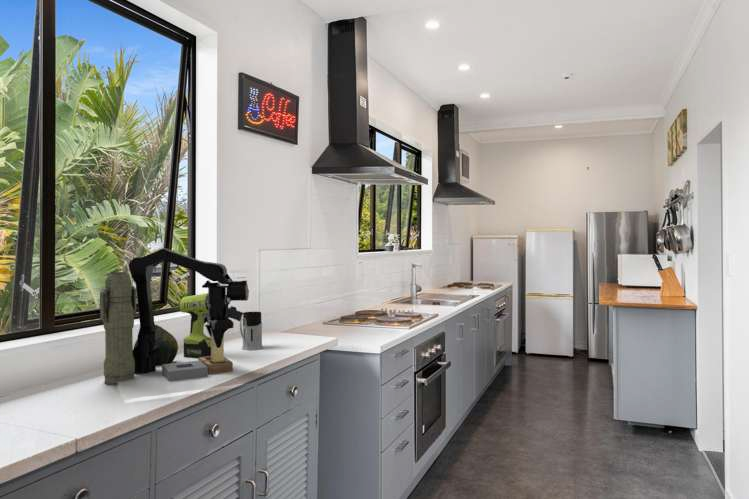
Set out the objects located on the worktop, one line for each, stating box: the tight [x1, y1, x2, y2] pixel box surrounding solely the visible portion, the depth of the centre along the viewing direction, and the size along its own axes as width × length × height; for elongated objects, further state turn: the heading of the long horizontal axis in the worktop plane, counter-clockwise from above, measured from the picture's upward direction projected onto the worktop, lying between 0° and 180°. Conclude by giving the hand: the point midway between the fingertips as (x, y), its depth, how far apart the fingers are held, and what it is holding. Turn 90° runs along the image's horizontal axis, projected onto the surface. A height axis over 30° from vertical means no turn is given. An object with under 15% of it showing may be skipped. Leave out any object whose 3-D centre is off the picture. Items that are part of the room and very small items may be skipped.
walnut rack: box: [198, 356, 234, 375], centre depth 189 cm, size 14×8×4 cm, turn 30°
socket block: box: [161, 359, 209, 382], centre depth 180 cm, size 12×12×4 cm
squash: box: [133, 324, 179, 366], centre depth 200 cm, size 14×15×15 cm
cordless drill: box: [179, 292, 232, 359], centre depth 213 cm, size 23×7×25 cm, turn 70°
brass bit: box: [210, 332, 225, 363], centre depth 186 cm, size 3×3×10 cm
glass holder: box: [239, 311, 264, 351], centre depth 227 cm, size 9×14×15 cm, turn 164°
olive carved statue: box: [99, 271, 137, 386], centre depth 175 cm, size 9×12×35 cm
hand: (217, 346), depth 186 cm, fingers closed on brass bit, 3 cm apart
